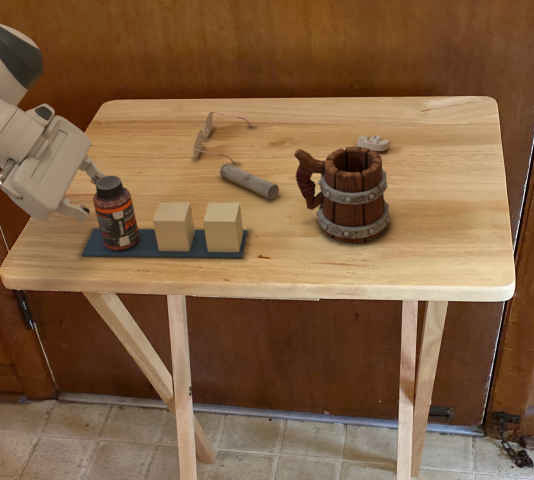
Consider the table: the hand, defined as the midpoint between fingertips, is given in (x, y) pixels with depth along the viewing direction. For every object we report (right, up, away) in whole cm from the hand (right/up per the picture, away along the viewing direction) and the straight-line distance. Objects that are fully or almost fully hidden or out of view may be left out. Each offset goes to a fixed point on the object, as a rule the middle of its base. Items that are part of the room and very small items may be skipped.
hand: (95, 199), depth 127 cm
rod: (+24, +4, +15) cm, 29 cm away
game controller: (+45, +10, +20) cm, 50 cm away
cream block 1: (+12, -6, +4) cm, 14 cm away
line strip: (+10, -7, +5) cm, 13 cm away
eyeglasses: (+19, +14, +27) cm, 35 cm away
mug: (+39, -3, +5) cm, 40 cm away
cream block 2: (+20, -6, +3) cm, 21 cm away
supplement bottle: (+3, -6, +6) cm, 9 cm away
